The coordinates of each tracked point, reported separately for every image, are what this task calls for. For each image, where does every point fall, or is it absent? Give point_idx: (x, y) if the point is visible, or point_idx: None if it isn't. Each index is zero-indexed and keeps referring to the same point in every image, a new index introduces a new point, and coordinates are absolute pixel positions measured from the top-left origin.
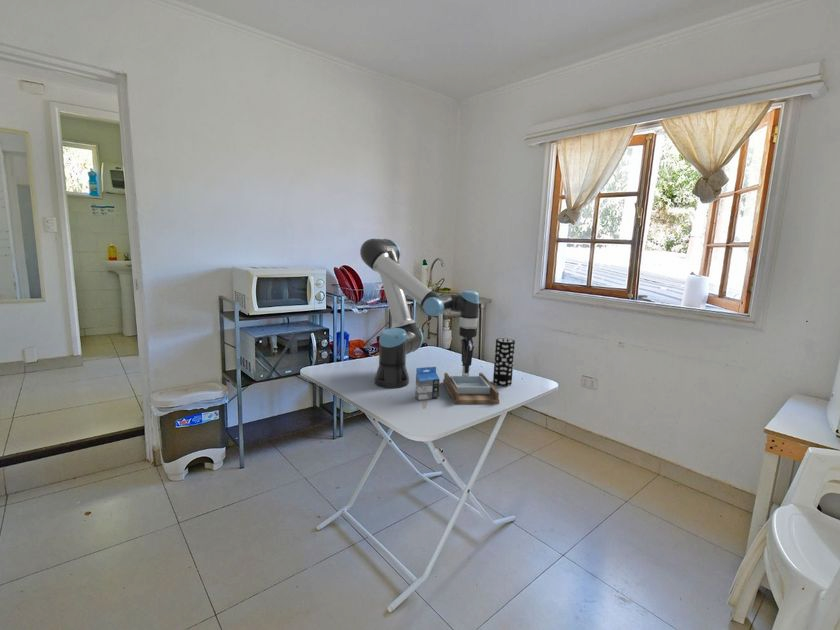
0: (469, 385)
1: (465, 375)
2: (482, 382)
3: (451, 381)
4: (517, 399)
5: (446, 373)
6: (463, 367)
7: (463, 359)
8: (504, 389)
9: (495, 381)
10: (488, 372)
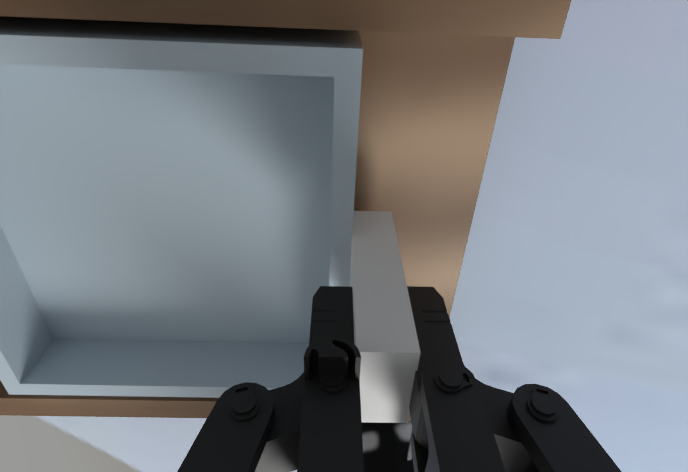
0: (218, 239)
1: (350, 271)
2: (237, 362)
3: (87, 4)
4: (90, 440)
5: (528, 17)
6: (355, 327)
7: (437, 457)
8: None
9: (367, 431)
10: (633, 431)
